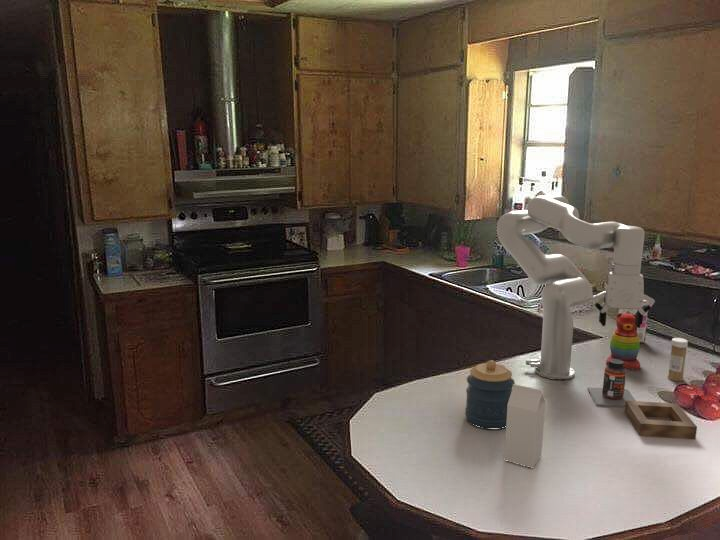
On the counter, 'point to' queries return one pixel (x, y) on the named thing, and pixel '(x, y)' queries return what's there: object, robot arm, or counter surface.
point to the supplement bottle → (614, 380)
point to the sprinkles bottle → (677, 359)
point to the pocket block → (673, 429)
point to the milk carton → (524, 425)
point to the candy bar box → (643, 326)
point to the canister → (488, 395)
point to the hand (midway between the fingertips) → (619, 325)
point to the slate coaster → (604, 401)
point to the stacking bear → (625, 342)
